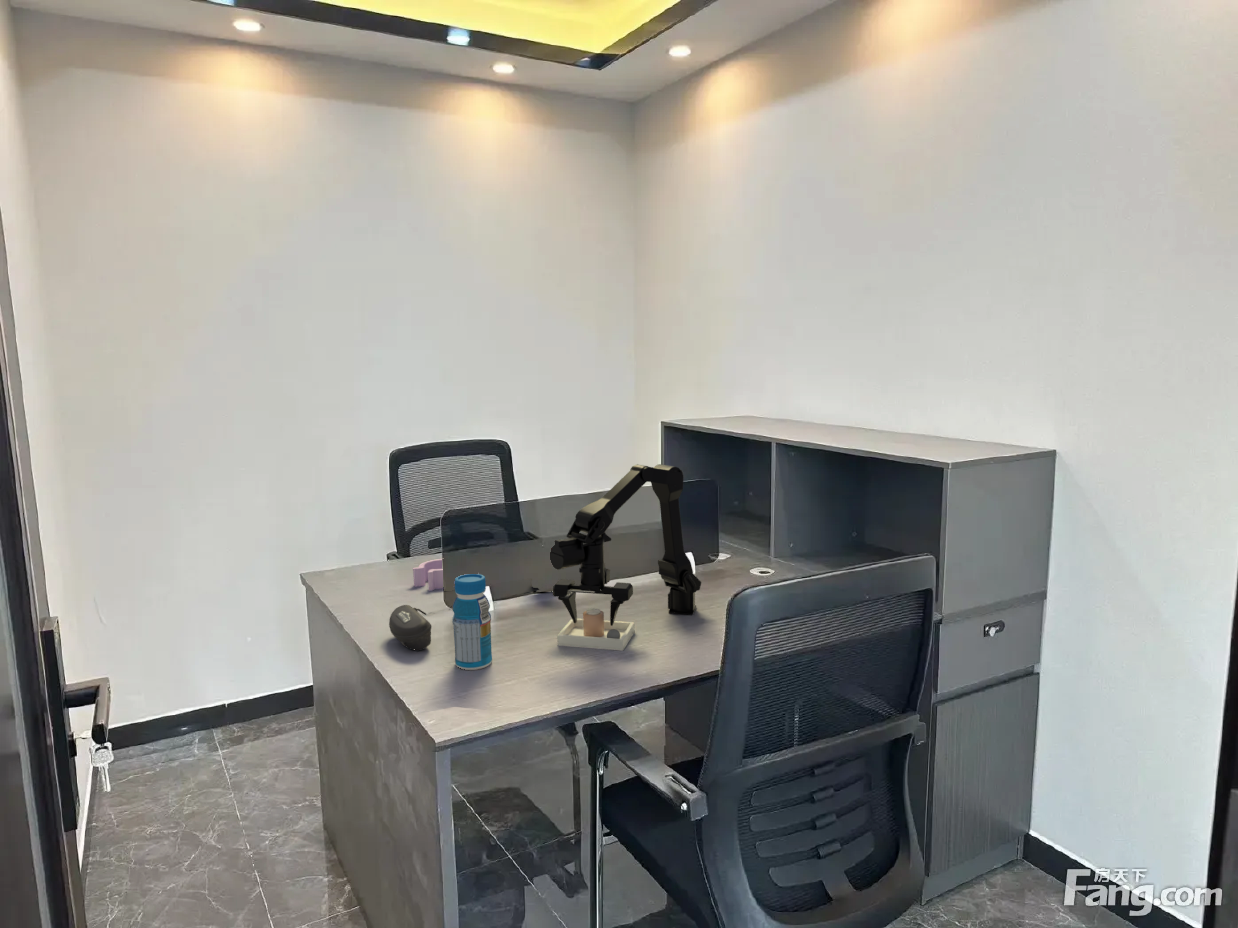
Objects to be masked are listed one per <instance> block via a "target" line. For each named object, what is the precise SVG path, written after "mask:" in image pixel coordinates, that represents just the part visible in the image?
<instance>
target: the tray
mask: <svg viewBox="0 0 1238 928" xmlns="http://www.w3.org/2000/svg"><path fill="white" fill-rule="evenodd" d="M611 629H616V630H618V631H619V633H620V639H615V638H607V633H608V631H609V630H611ZM634 634H635V622H632V621H619V620H618V621H617V620H615V621H614V624H613V626H611V624H610V620H605V619H604V636H602V637H589V636H584V629H583V618H578V617H577V622H576V623H574V622H573V620H572V618H570V620H569V621H568V622H567V623H566V625H564V627H563V628H562V629H561V630H560V631H559V632H558V634H557V635H556V641H557V642H556V644H557V646H558V647H559V646H560V647H571V648H583V649H584V648H586V649H595V650H596V649H598V650H607V651H608V650H609V651H624V650H625V648H627V647H626V646H627V645H628V644H629V642H630V640H631V639H632V636H633V635H634Z"/></svg>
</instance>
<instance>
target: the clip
mask: <svg viewBox="0 0 1238 928" xmlns="http://www.w3.org/2000/svg"><path fill="white" fill-rule="evenodd" d="M442 559H443V558H437V559H431V560H427V561H424V562H421V563H420V564H419V565H418V566H417V567H412V574H413V587H415V588H416V587H424V586H426V582H427V583H428V584H427V585H428V592H429V591H434V590H436V589H437V590H438V589H444V588H443V569H442Z"/></svg>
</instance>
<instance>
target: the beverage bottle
mask: <svg viewBox="0 0 1238 928" xmlns="http://www.w3.org/2000/svg"><path fill="white" fill-rule="evenodd" d="M486 582H487V580H486V576H485V575H483V574H482V573H478V574H464V575H460V576H458V577H456V578H455V581H454V584H455V586H454V592H455V594H456V598H454V601H453V603H452V607H451V608H452V609H451V611H452V612H453V616H452V617H451V618H452V621H451V622H452V626H453V638H454V642H453V643H454V663H455V666H456V667H457V668H458V667H459V668H458V669H460V668H461V670H464V669H465V670H464V671H477V670H481V669H484V668H487V667H488V666H490V665H491V664H492V662H493V655H492V630H491V629H492V627H491V623H492V615H491V612H490V611H489V610H490V608H491V605H490V601H489V600H488V599H489V598H487V596H486V594H485V592H486V589H487V585H486Z"/></svg>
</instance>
